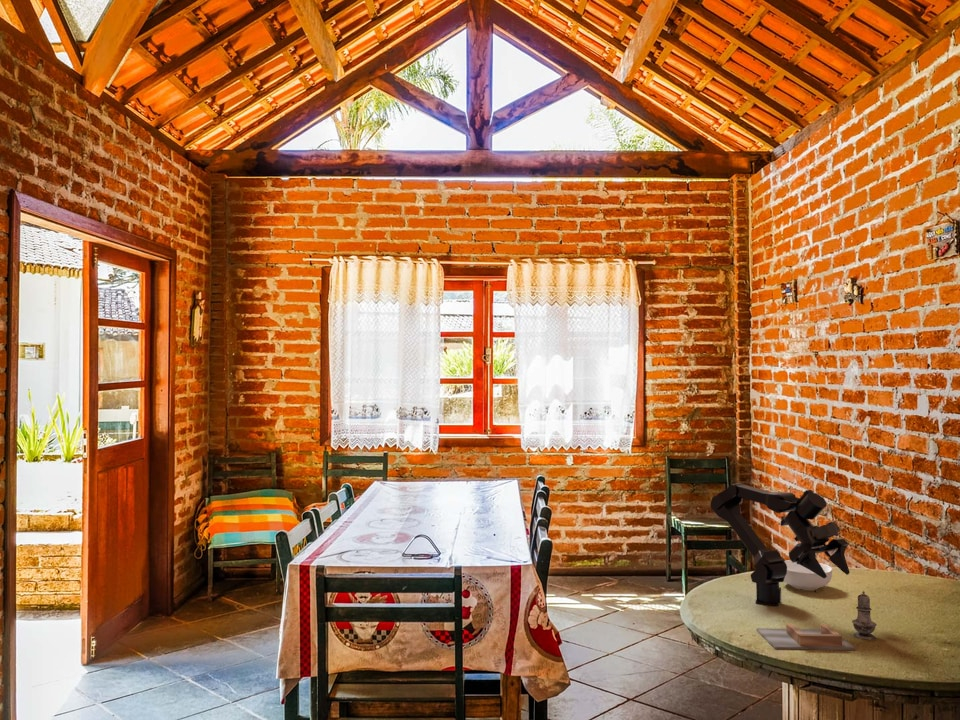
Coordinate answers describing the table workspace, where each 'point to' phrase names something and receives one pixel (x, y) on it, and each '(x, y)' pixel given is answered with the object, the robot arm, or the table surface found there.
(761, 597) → the robot arm
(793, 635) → the wooden u-frame tray
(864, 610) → the salt shaker
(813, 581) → the cereal bowl
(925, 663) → the table surface
